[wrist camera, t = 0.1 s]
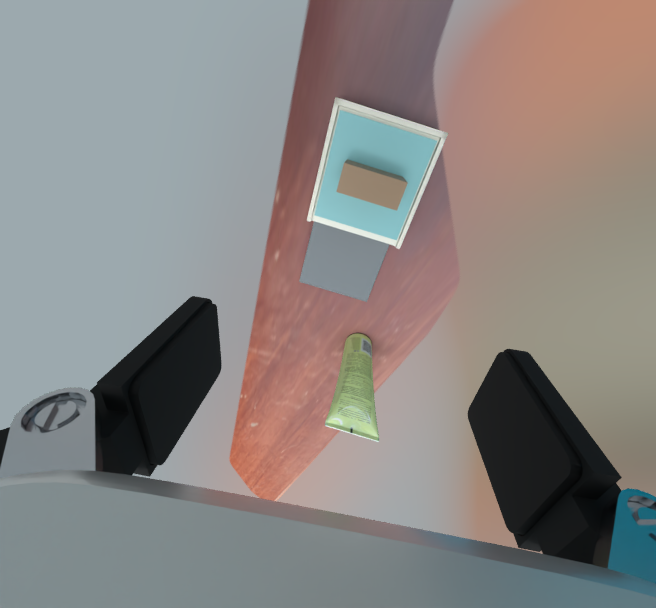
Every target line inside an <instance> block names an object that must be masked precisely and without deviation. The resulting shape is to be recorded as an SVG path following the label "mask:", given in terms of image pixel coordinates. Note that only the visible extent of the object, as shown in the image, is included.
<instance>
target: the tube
mask: <svg viewBox="0 0 656 608" xmlns="http://www.w3.org/2000/svg"><path fill="white" fill-rule="evenodd" d="M325 426H327V427H331V428H334V429H338V430H341V431H344V432H348V433H351V434H354V435H357V436H361V437H364V438H367V439H370V440H373V441H377V442H379V434H378V428H377V422H376V412H375V402H374V390H373V373H372V344H371V341H370V339H369V338H368V337H367V336H365V335H363V334H352V335H350V336H349V337H348V338H347V339H346V342H345V347H344V352H343V358H342V363H341V368H340V372H339V377H338V381H337V385H336V389H335V393H334V397H333V401H332V404H331V407H330V411H329V414H328V416H327V419H326V421H325Z"/></svg>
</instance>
